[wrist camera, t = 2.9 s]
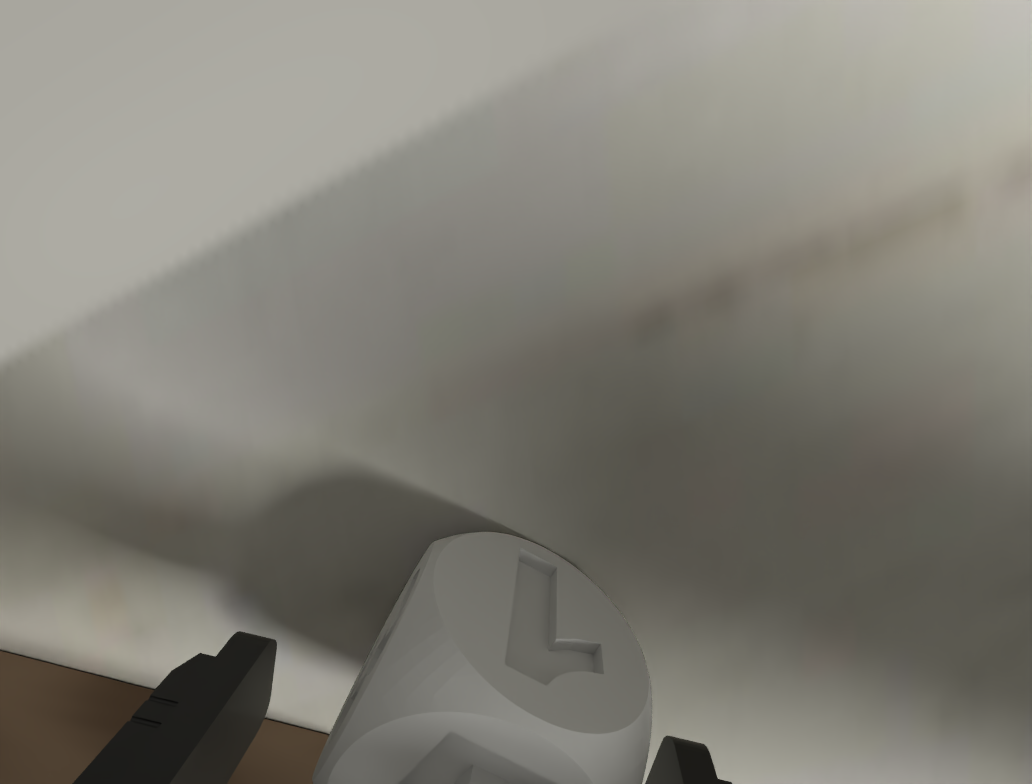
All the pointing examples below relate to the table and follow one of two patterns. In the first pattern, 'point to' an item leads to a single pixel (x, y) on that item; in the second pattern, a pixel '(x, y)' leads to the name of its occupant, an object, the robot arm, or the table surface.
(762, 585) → the table surface
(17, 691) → the pedestal
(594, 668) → the die
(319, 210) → the table surface
